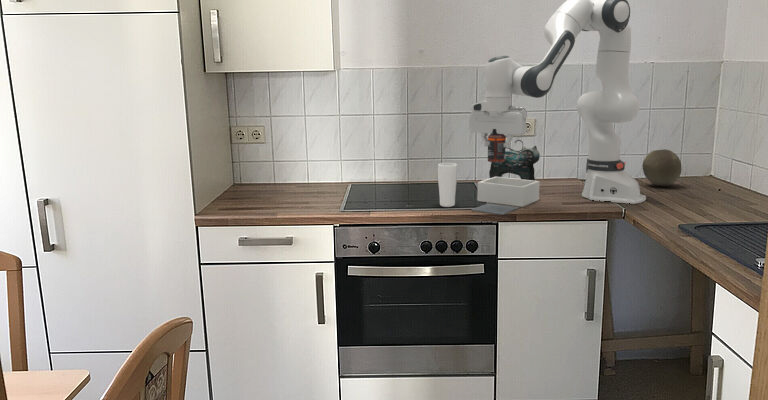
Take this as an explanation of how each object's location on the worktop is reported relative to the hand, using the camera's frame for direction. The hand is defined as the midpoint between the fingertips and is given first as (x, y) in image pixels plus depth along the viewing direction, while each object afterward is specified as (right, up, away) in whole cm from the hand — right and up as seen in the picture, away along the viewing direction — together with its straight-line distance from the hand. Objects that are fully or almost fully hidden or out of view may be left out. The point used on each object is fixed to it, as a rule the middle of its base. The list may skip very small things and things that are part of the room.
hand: (496, 147), depth 210 cm
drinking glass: (-16, -20, +12) cm, 28 cm away
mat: (0, -21, +5) cm, 22 cm away
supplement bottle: (0, -5, +1) cm, 5 cm away
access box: (+8, -18, +19) cm, 27 cm away
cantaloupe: (+73, -13, +40) cm, 84 cm away
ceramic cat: (+13, -14, +39) cm, 44 cm away
